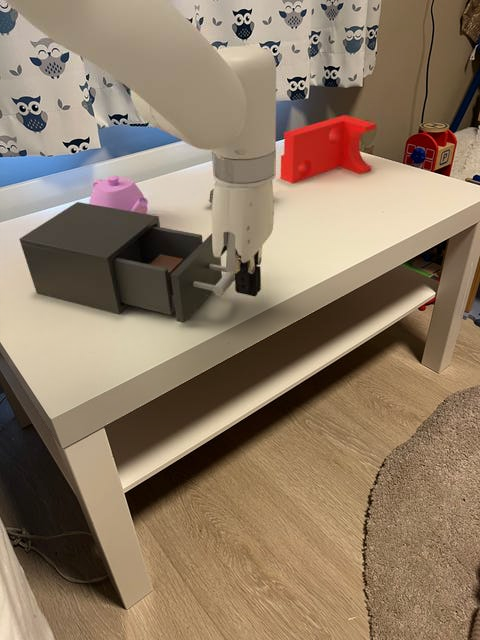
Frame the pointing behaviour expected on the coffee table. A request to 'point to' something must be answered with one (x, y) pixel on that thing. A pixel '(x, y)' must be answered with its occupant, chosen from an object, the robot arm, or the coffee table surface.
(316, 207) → the coffee table surface
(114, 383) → the coffee table surface
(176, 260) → the block
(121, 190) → the teapot
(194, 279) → the pulled-out drawer
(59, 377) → the coffee table surface
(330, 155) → the bracket
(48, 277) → the small drawer cabinet
